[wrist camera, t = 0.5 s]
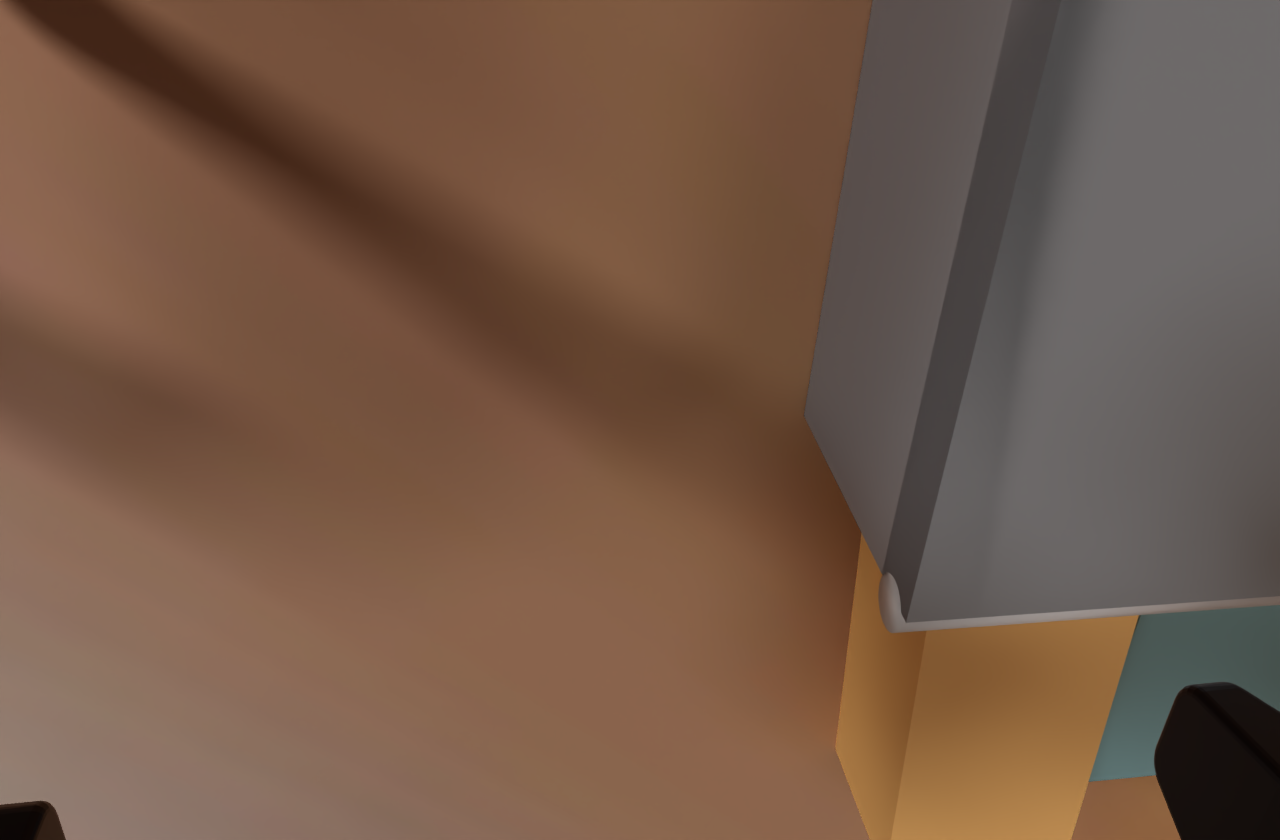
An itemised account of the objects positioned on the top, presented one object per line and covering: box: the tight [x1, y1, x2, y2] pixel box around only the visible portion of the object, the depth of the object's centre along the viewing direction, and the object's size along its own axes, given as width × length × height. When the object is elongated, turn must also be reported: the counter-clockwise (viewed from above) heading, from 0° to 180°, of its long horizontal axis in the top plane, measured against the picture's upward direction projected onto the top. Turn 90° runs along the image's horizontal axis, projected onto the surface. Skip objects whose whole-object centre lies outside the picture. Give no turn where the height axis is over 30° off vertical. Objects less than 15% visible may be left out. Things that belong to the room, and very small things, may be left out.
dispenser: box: [804, 0, 1280, 633], centre depth 20 cm, size 11×8×6 cm
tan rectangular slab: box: [835, 534, 1139, 840], centre depth 26 cm, size 13×4×4 cm, turn 1°
